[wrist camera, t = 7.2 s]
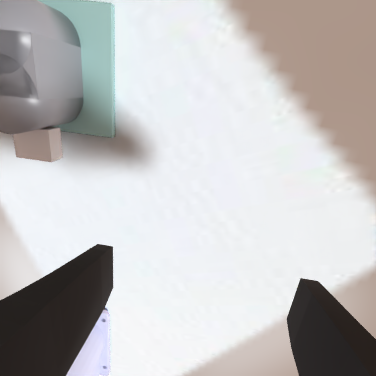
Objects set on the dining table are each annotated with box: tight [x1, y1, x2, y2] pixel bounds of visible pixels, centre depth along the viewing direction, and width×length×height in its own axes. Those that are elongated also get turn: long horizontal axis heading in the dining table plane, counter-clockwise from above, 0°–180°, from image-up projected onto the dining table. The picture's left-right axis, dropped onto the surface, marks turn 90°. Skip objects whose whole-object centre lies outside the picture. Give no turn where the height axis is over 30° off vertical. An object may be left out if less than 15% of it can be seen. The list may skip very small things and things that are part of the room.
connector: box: [0, 0, 83, 162], centre depth 15 cm, size 9×4×4 cm, turn 174°
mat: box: [38, 0, 115, 138], centre depth 17 cm, size 8×8×1 cm
